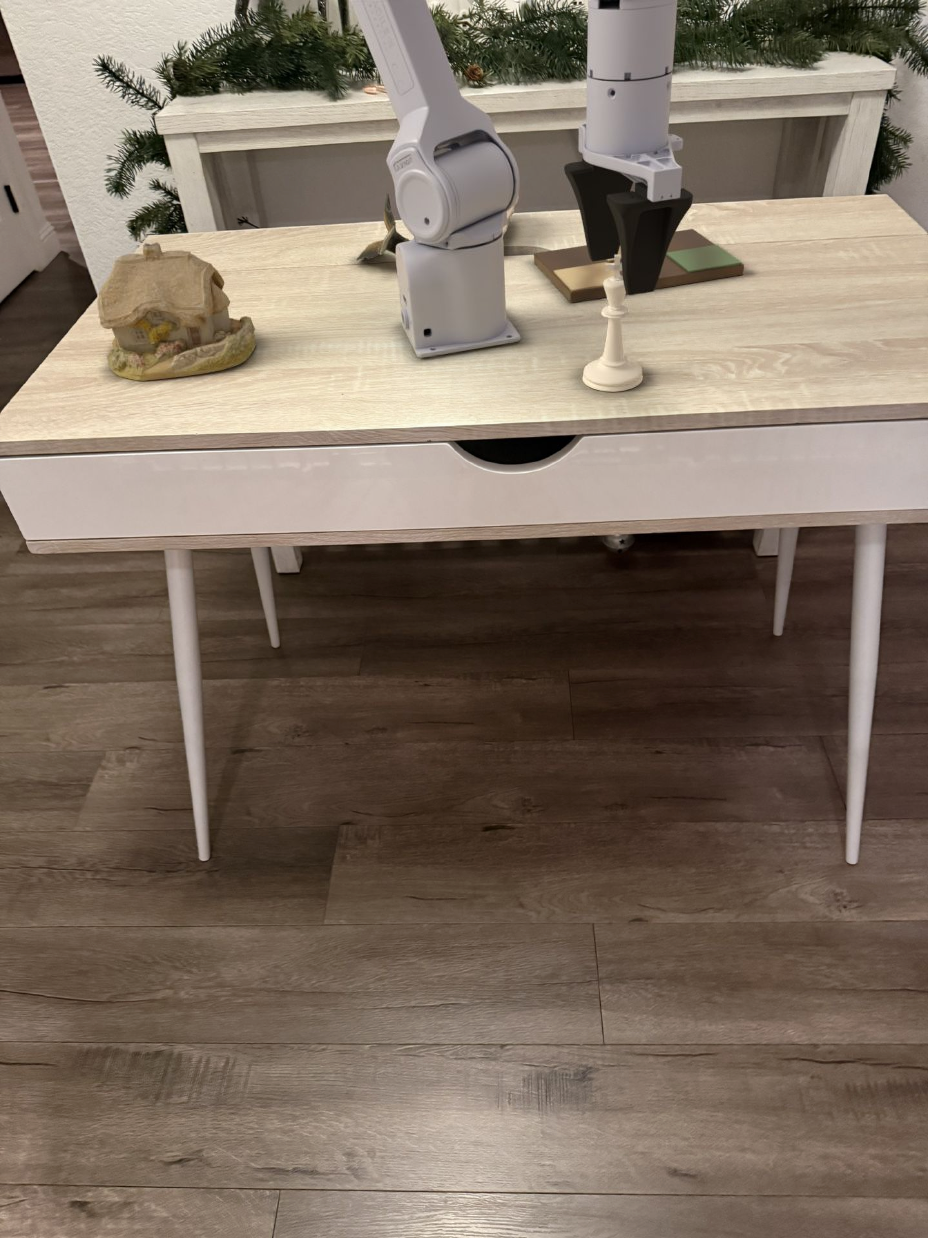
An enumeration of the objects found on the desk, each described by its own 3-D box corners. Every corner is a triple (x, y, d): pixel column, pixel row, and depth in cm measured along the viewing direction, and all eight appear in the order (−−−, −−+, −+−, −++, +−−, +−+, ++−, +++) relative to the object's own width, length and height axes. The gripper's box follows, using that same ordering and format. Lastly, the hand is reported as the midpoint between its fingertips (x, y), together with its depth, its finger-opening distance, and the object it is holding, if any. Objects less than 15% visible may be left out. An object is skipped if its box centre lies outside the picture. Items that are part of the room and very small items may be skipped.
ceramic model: (89, 383, 82) (48, 271, 75) (128, 332, 90) (95, 226, 84) (243, 376, 81) (216, 262, 74) (268, 325, 89) (246, 218, 83)
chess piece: (583, 364, 78) (585, 244, 72) (642, 364, 77) (650, 243, 71) (581, 391, 74) (583, 267, 68) (642, 392, 74) (651, 266, 67)
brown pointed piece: (453, 248, 99) (401, 216, 103) (427, 202, 93) (373, 170, 97) (407, 302, 99) (357, 268, 103) (377, 259, 93) (325, 225, 97)
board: (570, 302, 88) (570, 290, 88) (533, 262, 97) (533, 251, 97) (743, 274, 91) (744, 262, 90) (691, 237, 100) (692, 226, 99)
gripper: (734, 83, 57) (711, 299, 66) (643, 49, 68) (633, 237, 77) (627, 98, 56) (618, 314, 65) (552, 60, 67) (553, 250, 76)
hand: (621, 274), depth 71 cm, fingers open, 7 cm apart
